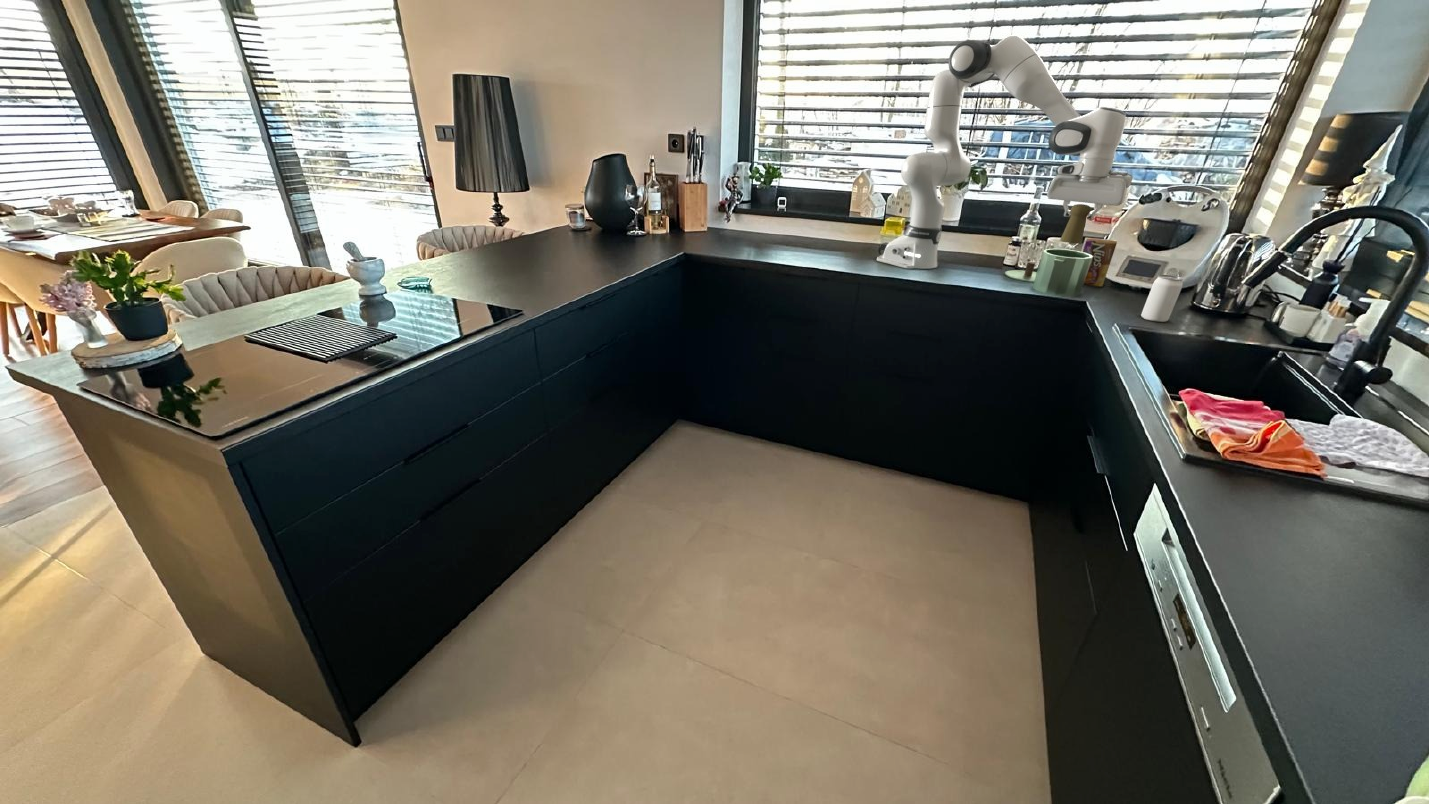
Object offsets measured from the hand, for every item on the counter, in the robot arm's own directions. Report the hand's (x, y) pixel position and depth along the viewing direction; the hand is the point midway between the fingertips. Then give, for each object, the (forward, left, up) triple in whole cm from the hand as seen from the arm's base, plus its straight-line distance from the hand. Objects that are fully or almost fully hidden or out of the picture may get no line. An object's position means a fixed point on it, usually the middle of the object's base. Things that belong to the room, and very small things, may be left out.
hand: (1078, 217), depth 171 cm
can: (+28, -9, -24) cm, 38 cm away
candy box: (+5, +18, -24) cm, 30 cm away
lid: (-12, +11, -23) cm, 28 cm away
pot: (0, 0, -23) cm, 23 cm away
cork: (0, 0, -7) cm, 7 cm away
